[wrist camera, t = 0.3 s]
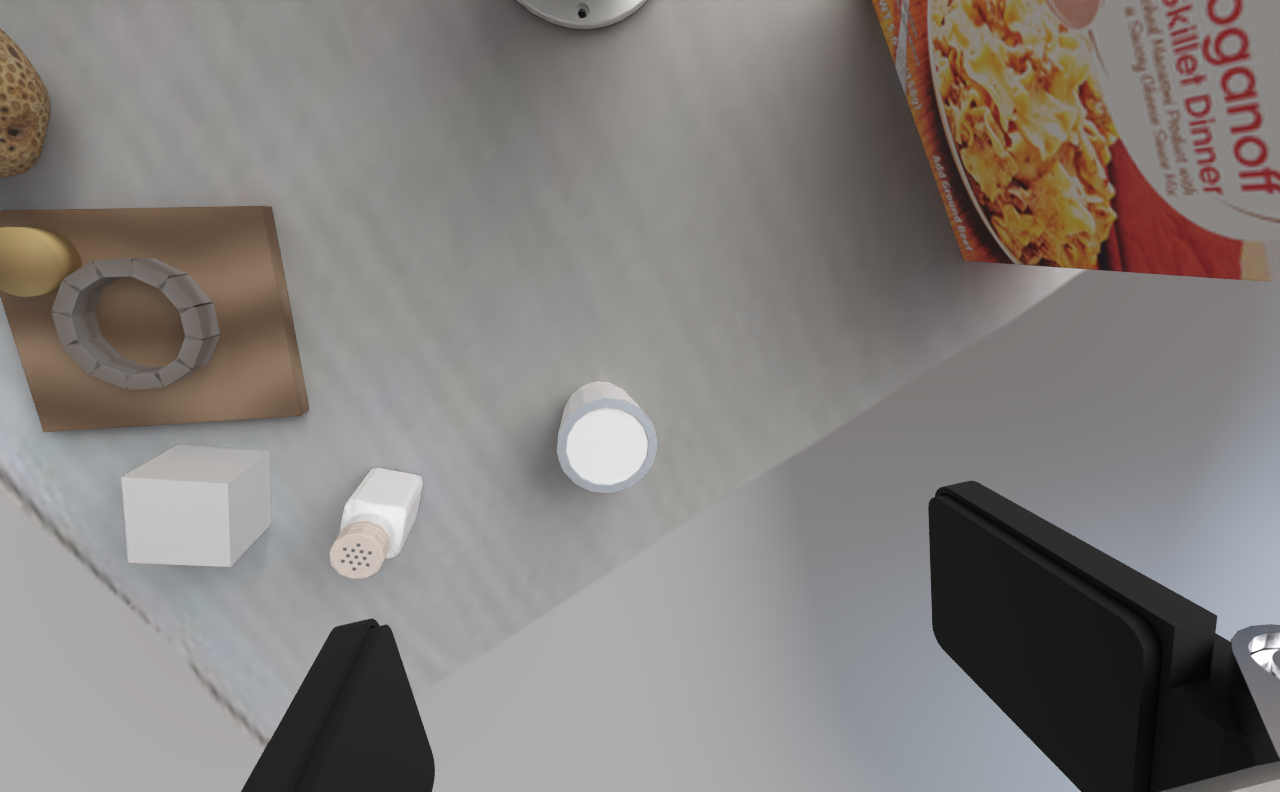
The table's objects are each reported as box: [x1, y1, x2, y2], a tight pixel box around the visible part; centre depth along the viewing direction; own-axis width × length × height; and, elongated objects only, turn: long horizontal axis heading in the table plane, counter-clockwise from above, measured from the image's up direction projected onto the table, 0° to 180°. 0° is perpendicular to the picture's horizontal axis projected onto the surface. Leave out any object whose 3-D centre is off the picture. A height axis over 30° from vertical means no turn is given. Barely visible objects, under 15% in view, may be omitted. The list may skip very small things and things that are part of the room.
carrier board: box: [0, 206, 309, 432], centre depth 38 cm, size 14×16×4 cm
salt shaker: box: [329, 468, 423, 579], centre depth 41 cm, size 4×4×10 cm
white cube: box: [121, 444, 271, 567], centre depth 40 cm, size 6×6×6 cm
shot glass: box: [557, 381, 658, 493], centre depth 43 cm, size 7×7×7 cm
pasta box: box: [872, 0, 1280, 283], centre depth 29 cm, size 23×8×30 cm, turn 29°
